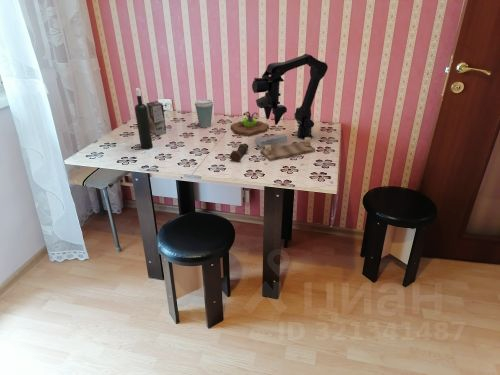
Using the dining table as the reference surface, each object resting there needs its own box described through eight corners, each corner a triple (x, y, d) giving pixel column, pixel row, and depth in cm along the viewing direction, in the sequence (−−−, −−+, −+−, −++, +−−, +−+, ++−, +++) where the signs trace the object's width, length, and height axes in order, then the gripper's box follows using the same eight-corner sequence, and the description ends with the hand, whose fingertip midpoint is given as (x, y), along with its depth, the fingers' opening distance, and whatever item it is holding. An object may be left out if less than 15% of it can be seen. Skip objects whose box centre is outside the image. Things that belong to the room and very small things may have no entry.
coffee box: (167, 133, 207) (163, 104, 199) (156, 135, 204) (152, 106, 196) (160, 128, 213) (156, 100, 205) (149, 130, 210) (145, 102, 202)
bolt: (247, 153, 187) (236, 164, 175) (239, 147, 187) (227, 158, 175) (252, 144, 184) (242, 155, 171) (244, 138, 184) (233, 149, 172)
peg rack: (304, 144, 191) (304, 134, 189) (315, 151, 183) (315, 141, 181) (260, 153, 182) (260, 142, 180) (269, 161, 174) (269, 150, 172)
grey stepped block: (282, 138, 199) (282, 133, 198) (287, 142, 194) (288, 136, 193) (255, 143, 193) (255, 138, 192) (260, 147, 189) (260, 142, 187)
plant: (224, 130, 211) (223, 111, 205) (248, 121, 223) (247, 103, 218) (250, 139, 199) (250, 119, 193) (273, 129, 211) (274, 110, 206)
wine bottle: (146, 144, 193) (137, 86, 178) (155, 146, 191) (146, 87, 176) (138, 148, 189) (128, 89, 174) (147, 150, 187) (138, 90, 172)
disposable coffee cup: (192, 126, 215) (190, 101, 208) (204, 121, 223) (202, 96, 216) (206, 130, 210) (204, 104, 203) (218, 124, 218) (217, 99, 210)
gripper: (250, 87, 185) (249, 118, 193) (267, 97, 170) (265, 129, 178) (270, 86, 189) (268, 115, 197) (288, 95, 174) (286, 127, 182)
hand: (271, 121), depth 188 cm, fingers open, 9 cm apart
